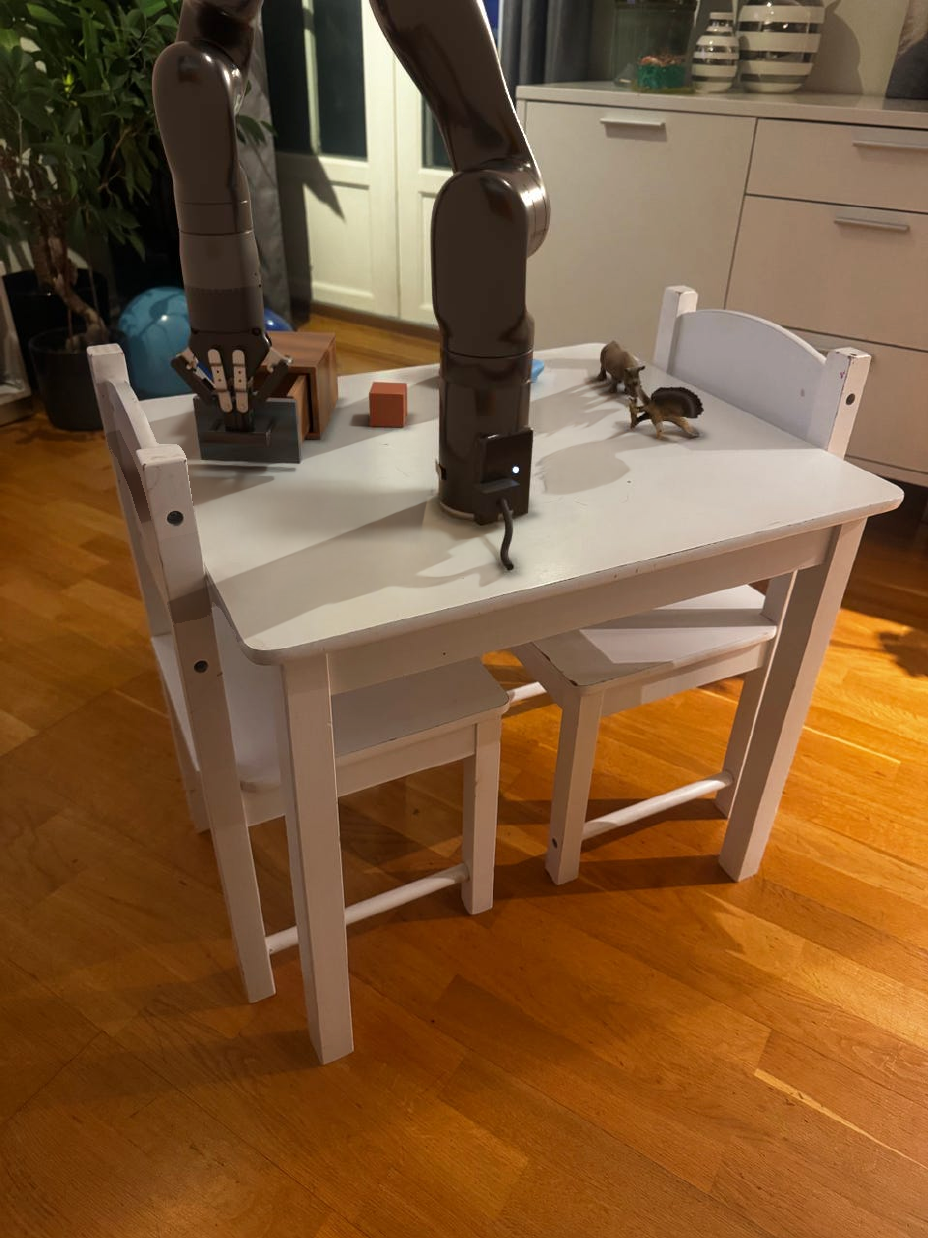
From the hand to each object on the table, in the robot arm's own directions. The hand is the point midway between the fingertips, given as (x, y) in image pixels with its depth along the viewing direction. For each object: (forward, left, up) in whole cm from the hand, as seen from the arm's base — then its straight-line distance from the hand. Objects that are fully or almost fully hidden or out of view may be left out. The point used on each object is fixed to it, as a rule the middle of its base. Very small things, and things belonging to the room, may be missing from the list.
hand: (241, 441), depth 101 cm
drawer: (+6, -4, -4) cm, 8 cm away
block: (+8, -23, -5) cm, 25 cm away
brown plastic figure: (-13, -51, -5) cm, 53 cm away
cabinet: (+16, -11, -5) cm, 20 cm away
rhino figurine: (+2, -57, -5) cm, 58 cm away
